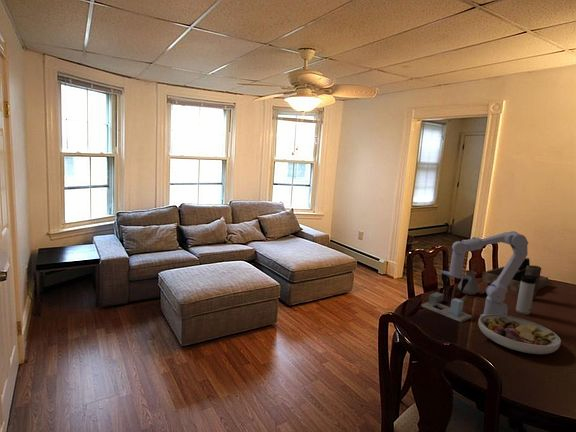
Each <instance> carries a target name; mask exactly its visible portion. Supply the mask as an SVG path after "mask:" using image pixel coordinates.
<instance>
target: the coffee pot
mask: <svg viewBox="0 0 576 432" xmlns="http://www.w3.org/2000/svg"><path fill="white" fill-rule="evenodd" d="M476 267H477V264H476V263H474V264H472V267H471V270H468V269H467V270H464V273H465V274H464V275H467V276H471V277H472V278H471V281H468V283H467V284H466V286H465V287H464V289H463V292H462V294H464V295H469V296H475V295H476V294H478V293H479V292H480V288H479V285H478V282H477V279H476V276H477V275H478V273H477V272H476V271H475V269H476ZM462 280H463V279H460V282H459V283H458V285H457V289H458V290H459V291H460V292H461V288H462Z"/></svg>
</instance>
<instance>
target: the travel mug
mask: <svg viewBox="0 0 576 432" xmlns="http://www.w3.org/2000/svg"><path fill="white" fill-rule="evenodd" d="M536 278H537V277H536V276H530V275H523V276H522V278H521V283H520V288H519V292H518V293H517V294H518V295H517V300H516V301H517V302H516V307H515V312H516V313H517V314H520V315H523V316H524V315H525V316H529V315H531V309H532V305H533V304H532V303H533V300H532V299H533V294H534V288H535V282H536Z"/></svg>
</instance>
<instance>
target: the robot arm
mask: <svg viewBox="0 0 576 432" xmlns="http://www.w3.org/2000/svg"><path fill="white" fill-rule="evenodd" d="M499 243H503V244H507V245H510V247H511V250H512V252H513V253H512V255H511V256H510V258H509V260H507V261H508V262H507V263H506V265H505V266H503V267H504V269H503V271H502V272H501V274H500V275H499V277H498V278H497V280H496V281H494V282H493V283H492V284H489V285H488V286H487V287H486V288H485V293H486V295H487V296H486V298H485V303H484V309H483V313H482V314H479V316H480V317H481V316H483V315H489V314H497V315H506V316H508V310H509V306H508V304H506V303H504V301H505V299H506V294H507V293H508V289H507V286H508V284H509V283H510V281H511V280H512V278H513V277H514V275H515V274H516V272H517V270H518V269H519V267H520V266H521V264H522V263H523V261H524V260H525V258H527V257H528V254H529V253H528V244H529V241H528V239H527V237H526V236H525V235H524V234H521V233H518V232H517V231H514V230H513V231H512V230H511V231H509V232H508V231H506V232H503V233H502V232H501V233H498V234H494V235H491V236H488V237H484V238H482V239H481V238H480V237H475V236H473V237H471V238H469V239H462V240H461V241H459V240H458V241H454V242H453V244H452V245H451V249H452V253H451V258H450V260H451V261H450V264H449V265H450V266H449V271H447V270H440V271H439V276H441V281H442V285H443V290H444V291H446V290H447V283H448V278H449V277H450V278H454V279H455V278H456V279H460V280H462V279H463V280H462V288H461V291H460V293H459V294H461V295H462V294H463V293H462V292H463V289H464V287H465V286H466V284H467V283H468V281H471V278H472V277H471V276H467V275H465V274H463V269H464V262H465V254H466V253H468V252H473V251H476V250H481V249H483V247H484V246H488V245H493V244H499Z"/></svg>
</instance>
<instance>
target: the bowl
mask: <svg viewBox="0 0 576 432" xmlns="http://www.w3.org/2000/svg"><path fill="white" fill-rule="evenodd" d="M477 324H478V327H479V329H480V331H481V333H482V334H484V336H485V337H487V339H489V340H490V341H493V342H494V343H496V344H498V345H500V346H503V347H505V348H507V349H510V350H514V351H518V352H521V353H525V354H534V355H548V354H552V353H555V352H556V351H557V350H558V349H559V348H560V346H561V342H562V339H561V338H560V336H558V334H556V333H555V332H554V331H552V330H551V329H549V328H547V327H546V326H545V327H544V326H543V325H541V324H538V323H536V322H533V321H530V320H528V319H523V318H520V317H515V316H512V315H507V316H506V315H497V314H489V315H483V316H480V317H478V323H477Z"/></svg>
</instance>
